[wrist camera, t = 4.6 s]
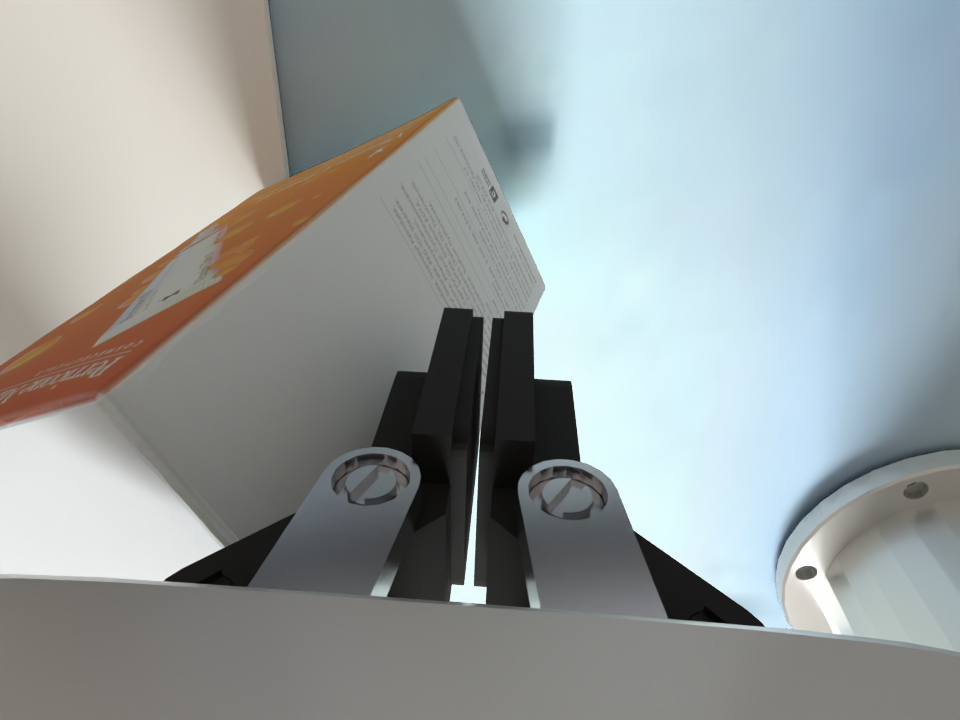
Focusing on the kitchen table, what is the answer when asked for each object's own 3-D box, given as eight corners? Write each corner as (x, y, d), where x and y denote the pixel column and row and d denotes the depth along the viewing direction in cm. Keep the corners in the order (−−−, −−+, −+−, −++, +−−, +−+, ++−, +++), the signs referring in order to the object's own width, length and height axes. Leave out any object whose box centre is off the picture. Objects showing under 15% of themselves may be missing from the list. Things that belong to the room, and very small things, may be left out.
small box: (462, 89, 17) (92, 393, 7) (551, 287, 20) (374, 702, 10) (255, 186, 21) (-168, 468, 11) (354, 341, 24) (87, 675, 14)
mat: (264, -26, 18) (259, -26, 18) (315, 386, 25) (313, 392, 25) (-194, -38, 19) (-208, -39, 19) (-21, 366, 26) (-28, 371, 26)
